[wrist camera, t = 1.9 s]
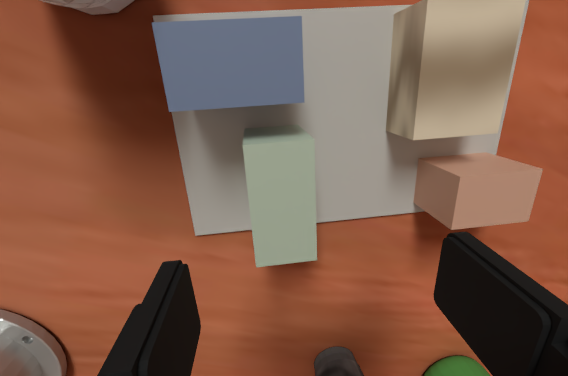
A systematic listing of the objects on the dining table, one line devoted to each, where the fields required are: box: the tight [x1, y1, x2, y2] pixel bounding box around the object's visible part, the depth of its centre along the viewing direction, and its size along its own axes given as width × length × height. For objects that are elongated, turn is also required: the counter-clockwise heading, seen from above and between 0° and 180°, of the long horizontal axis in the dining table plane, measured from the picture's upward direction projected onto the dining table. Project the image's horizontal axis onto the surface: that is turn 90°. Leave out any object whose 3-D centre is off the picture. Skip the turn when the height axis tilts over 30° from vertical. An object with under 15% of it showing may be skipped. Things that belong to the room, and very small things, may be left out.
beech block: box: [386, 0, 526, 140], centre depth 19 cm, size 8×6×4 cm
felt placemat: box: [153, 0, 529, 236], centre depth 22 cm, size 16×26×1 cm, turn 93°
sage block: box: [243, 125, 317, 267], centre depth 20 cm, size 8×4×6 cm, turn 3°
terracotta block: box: [414, 152, 543, 230], centre depth 22 cm, size 4×6×5 cm, turn 93°
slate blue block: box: [152, 16, 305, 112], centre depth 17 cm, size 7×4×6 cm, turn 93°
